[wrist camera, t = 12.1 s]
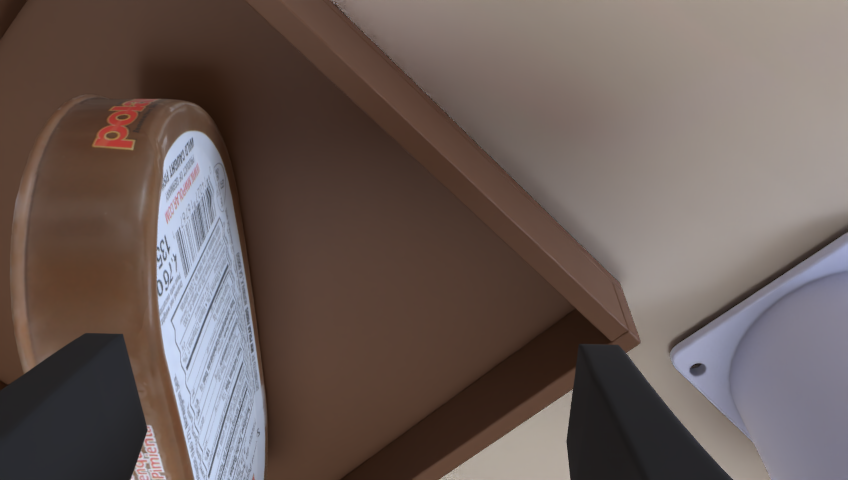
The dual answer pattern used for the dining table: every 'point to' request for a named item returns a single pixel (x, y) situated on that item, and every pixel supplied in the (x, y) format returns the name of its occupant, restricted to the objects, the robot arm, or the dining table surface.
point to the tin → (146, 275)
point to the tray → (336, 227)
